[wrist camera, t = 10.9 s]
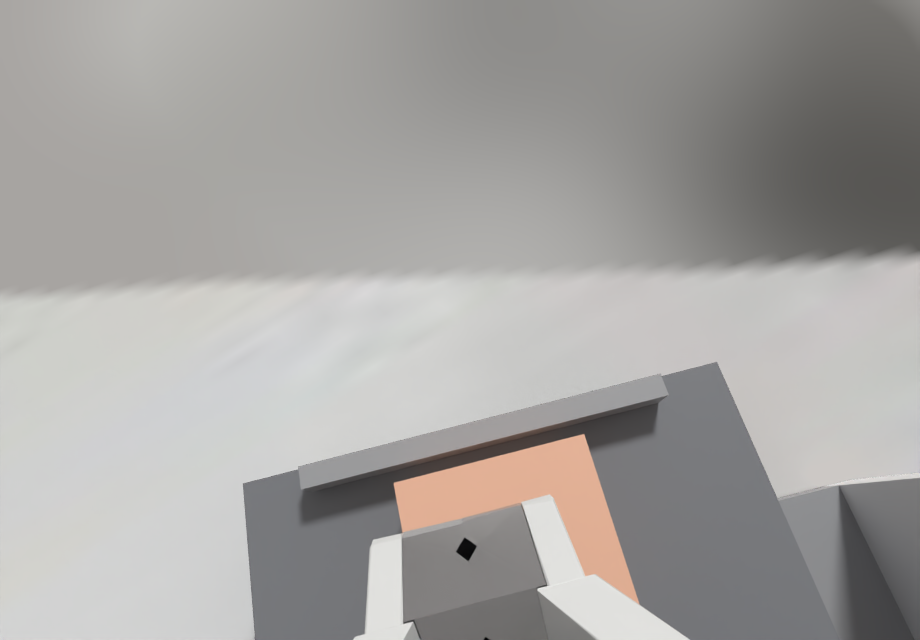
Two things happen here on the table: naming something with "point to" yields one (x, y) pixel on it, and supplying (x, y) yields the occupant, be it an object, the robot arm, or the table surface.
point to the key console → (618, 521)
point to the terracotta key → (520, 479)
